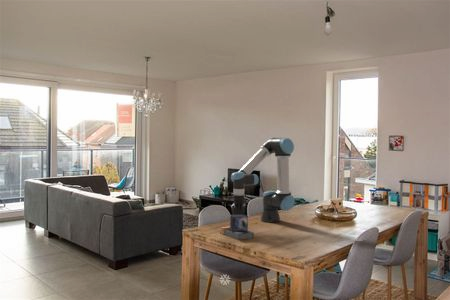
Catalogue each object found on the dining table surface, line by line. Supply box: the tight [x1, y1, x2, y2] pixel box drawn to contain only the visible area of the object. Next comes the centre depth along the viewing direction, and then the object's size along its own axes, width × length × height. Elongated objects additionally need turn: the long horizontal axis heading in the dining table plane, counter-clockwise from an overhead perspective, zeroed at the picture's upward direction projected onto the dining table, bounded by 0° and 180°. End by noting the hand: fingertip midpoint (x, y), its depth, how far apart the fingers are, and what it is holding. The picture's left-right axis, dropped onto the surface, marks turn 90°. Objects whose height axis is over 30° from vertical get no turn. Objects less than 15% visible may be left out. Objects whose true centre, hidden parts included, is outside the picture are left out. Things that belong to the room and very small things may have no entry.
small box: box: [229, 214, 249, 232], centre depth 255 cm, size 11×6×10 cm, turn 106°
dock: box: [219, 230, 255, 241], centre depth 258 cm, size 12×21×3 cm, turn 36°
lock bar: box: [220, 225, 232, 235], centre depth 264 cm, size 13×3×4 cm, turn 126°
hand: (238, 228), depth 268 cm, fingers closed
